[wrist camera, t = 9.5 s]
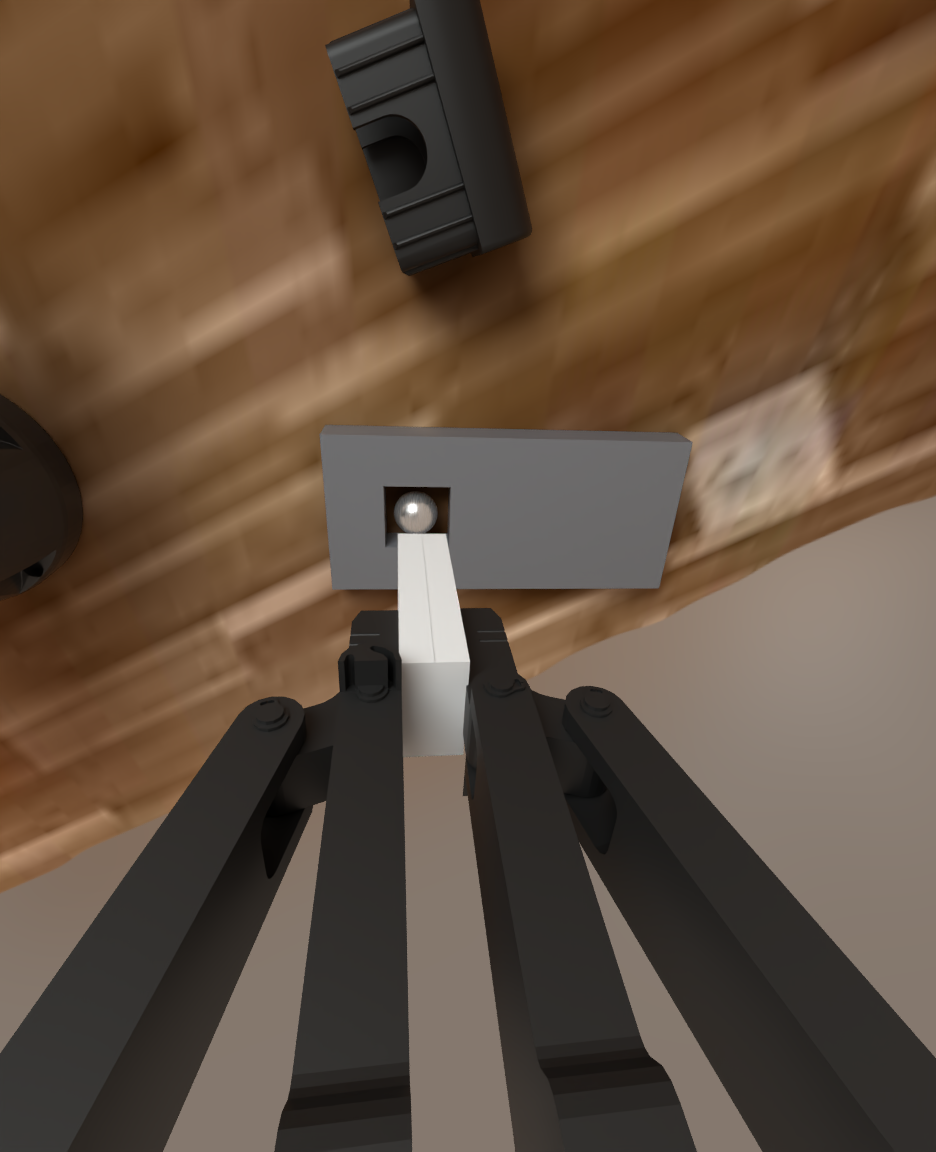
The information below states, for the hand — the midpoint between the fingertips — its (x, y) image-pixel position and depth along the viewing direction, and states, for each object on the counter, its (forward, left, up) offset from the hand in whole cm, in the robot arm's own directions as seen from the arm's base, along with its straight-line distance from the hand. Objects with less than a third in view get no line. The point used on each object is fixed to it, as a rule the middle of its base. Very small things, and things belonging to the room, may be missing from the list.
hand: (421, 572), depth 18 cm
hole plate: (+6, -6, -22) cm, 23 cm away
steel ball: (0, -6, -20) cm, 21 cm away
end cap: (+1, +14, -22) cm, 26 cm away
